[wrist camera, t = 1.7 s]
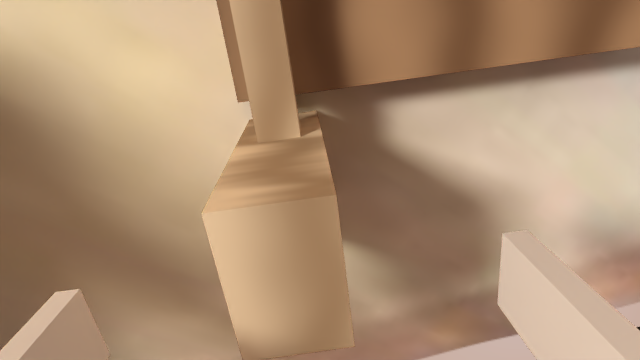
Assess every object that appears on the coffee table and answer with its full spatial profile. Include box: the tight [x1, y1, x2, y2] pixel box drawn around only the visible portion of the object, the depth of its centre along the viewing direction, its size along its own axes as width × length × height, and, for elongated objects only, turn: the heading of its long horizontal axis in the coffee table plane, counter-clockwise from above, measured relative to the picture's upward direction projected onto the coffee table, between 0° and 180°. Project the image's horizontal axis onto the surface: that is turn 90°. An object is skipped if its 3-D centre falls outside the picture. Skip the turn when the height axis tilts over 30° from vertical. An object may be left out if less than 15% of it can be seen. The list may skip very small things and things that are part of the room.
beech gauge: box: [201, 0, 355, 360], centre depth 16 cm, size 4×16×12 cm, turn 7°
